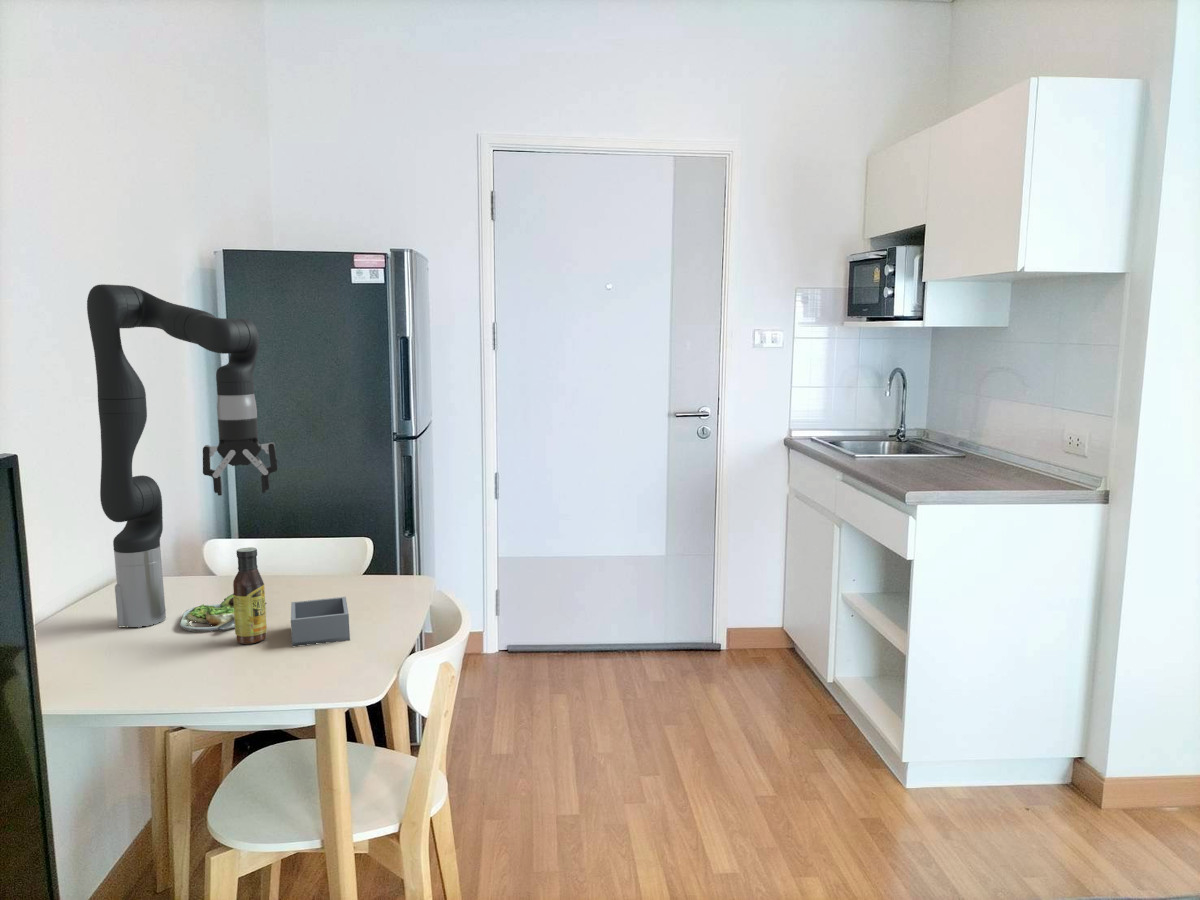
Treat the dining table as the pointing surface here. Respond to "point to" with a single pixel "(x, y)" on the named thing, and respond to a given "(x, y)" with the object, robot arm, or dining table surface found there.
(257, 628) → the sauce bottle
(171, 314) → the robot arm
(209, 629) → the salad plate
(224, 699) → the dining table surface
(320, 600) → the bottle caddy
